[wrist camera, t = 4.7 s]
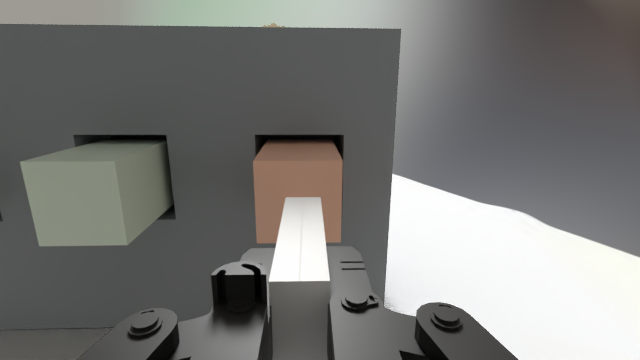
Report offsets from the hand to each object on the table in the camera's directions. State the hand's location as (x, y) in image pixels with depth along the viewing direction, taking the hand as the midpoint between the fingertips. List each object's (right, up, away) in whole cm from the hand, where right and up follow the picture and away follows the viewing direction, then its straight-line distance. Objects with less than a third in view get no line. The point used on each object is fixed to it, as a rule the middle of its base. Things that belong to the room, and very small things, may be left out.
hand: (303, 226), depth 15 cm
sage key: (-11, 0, +6) cm, 13 cm away
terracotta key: (-1, 0, +6) cm, 7 cm away
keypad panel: (-12, -7, +14) cm, 20 cm away
